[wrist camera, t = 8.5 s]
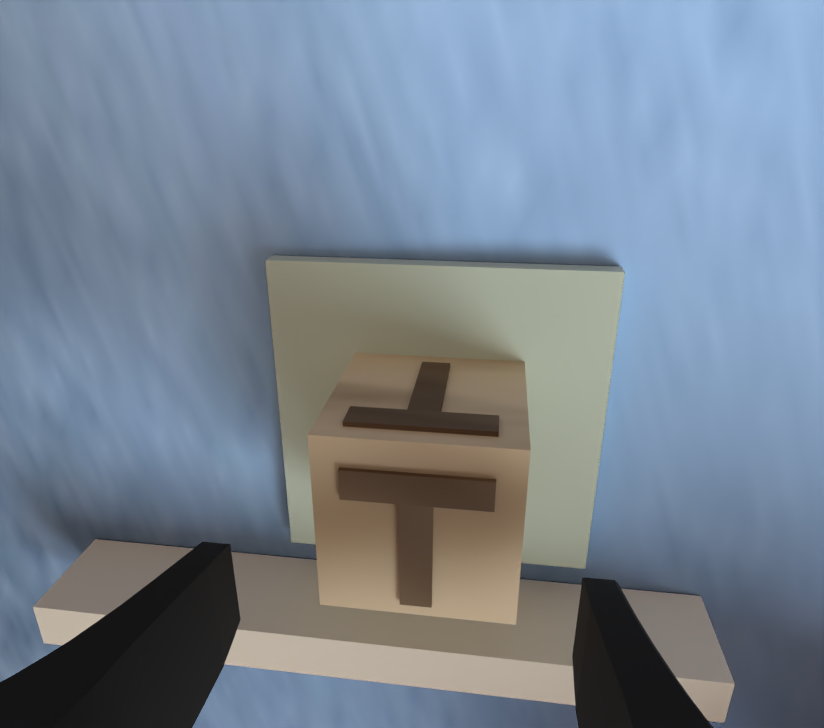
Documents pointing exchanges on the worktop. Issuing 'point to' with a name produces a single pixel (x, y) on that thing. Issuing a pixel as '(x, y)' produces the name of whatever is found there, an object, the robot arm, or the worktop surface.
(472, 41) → the worktop surface
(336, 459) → the lettered cube
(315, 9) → the worktop surface
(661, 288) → the worktop surface
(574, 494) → the pad
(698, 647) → the cream board
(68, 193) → the worktop surface
